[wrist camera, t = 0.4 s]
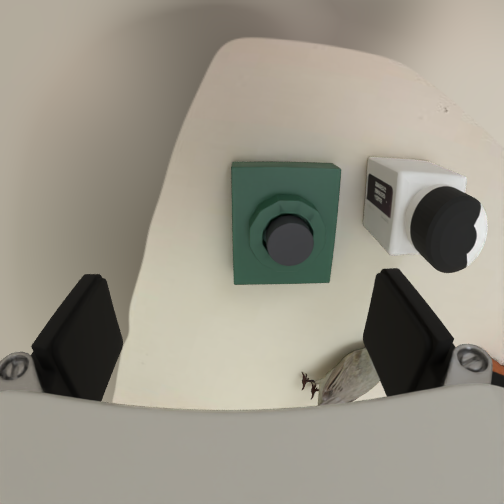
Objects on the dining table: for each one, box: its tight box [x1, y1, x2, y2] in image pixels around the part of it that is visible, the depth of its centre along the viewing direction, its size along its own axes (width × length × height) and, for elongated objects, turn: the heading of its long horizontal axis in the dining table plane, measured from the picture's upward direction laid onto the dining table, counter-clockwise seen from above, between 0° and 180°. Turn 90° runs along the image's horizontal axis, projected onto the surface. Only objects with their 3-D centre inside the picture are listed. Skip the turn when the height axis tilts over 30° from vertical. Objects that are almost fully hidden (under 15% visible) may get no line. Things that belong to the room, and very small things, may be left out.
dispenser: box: [231, 162, 341, 285], centre depth 31 cm, size 12×10×5 cm
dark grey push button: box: [266, 215, 314, 266], centre depth 28 cm, size 4×4×2 cm
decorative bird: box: [301, 348, 380, 406], centre depth 39 cm, size 5×16×8 cm, turn 125°
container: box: [363, 157, 488, 273], centre depth 26 cm, size 8×8×13 cm
